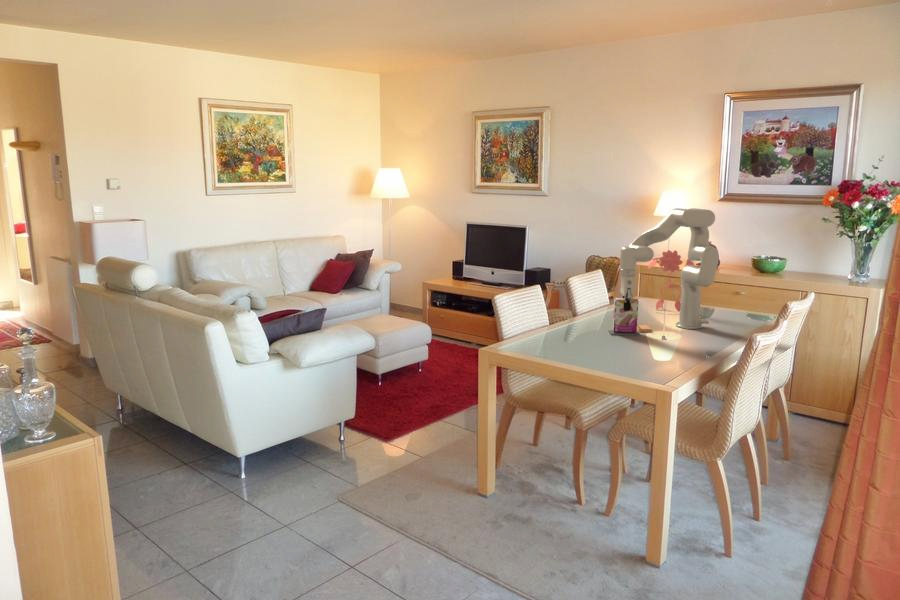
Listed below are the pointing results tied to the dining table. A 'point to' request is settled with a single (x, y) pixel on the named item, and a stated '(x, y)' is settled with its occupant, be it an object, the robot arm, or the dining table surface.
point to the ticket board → (643, 328)
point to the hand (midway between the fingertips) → (625, 308)
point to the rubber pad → (623, 333)
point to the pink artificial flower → (670, 263)
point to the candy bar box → (625, 316)
